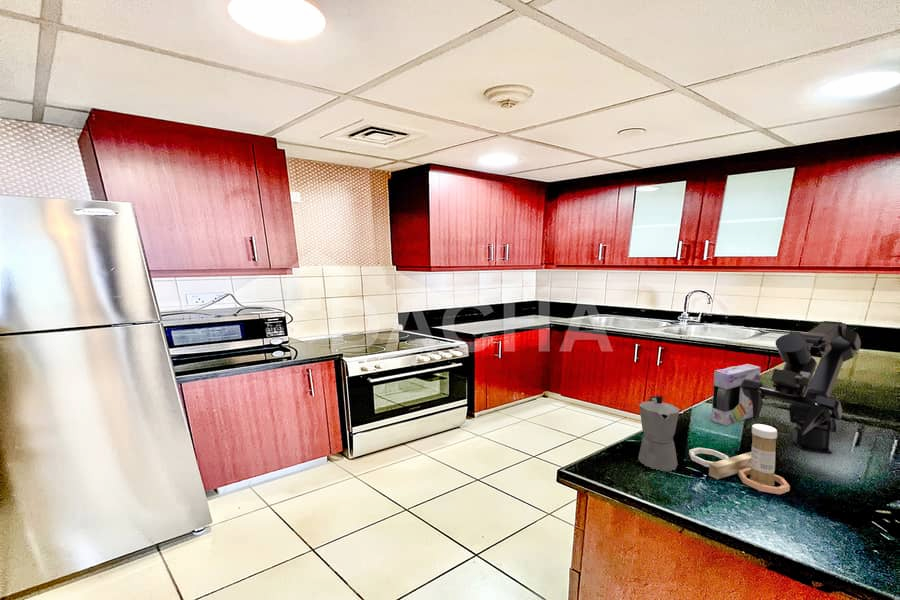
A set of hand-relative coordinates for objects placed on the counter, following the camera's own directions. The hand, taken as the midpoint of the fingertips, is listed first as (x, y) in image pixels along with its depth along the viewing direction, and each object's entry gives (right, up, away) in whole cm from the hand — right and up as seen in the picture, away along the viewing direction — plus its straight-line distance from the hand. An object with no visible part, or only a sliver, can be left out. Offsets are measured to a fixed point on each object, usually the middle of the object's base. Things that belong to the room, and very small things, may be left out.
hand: (777, 426), depth 92 cm
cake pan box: (+15, -9, +34) cm, 38 cm away
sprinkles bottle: (-7, -12, -4) cm, 14 cm away
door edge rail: (-9, -12, +2) cm, 15 cm away
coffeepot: (-26, -12, +7) cm, 29 cm away
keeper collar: (-7, -12, -4) cm, 14 cm away
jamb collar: (-12, -11, +7) cm, 18 cm away
